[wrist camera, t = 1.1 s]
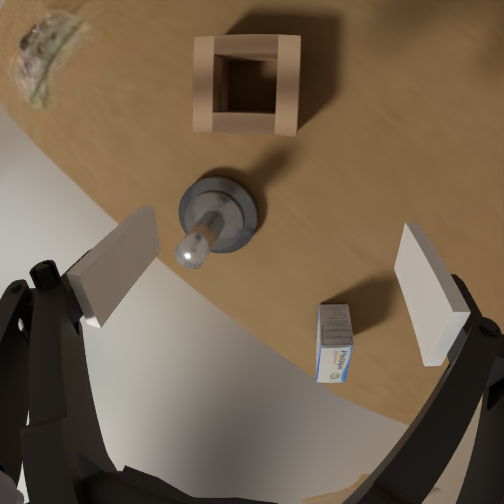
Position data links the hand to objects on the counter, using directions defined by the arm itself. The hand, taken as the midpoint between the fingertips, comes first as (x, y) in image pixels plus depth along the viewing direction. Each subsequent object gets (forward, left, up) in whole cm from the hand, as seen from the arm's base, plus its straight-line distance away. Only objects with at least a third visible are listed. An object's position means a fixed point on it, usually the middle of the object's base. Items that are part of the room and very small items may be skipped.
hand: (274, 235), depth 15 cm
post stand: (+8, -9, -21) cm, 24 cm away
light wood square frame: (-8, -5, -21) cm, 23 cm away
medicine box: (+24, +8, -21) cm, 33 cm away
